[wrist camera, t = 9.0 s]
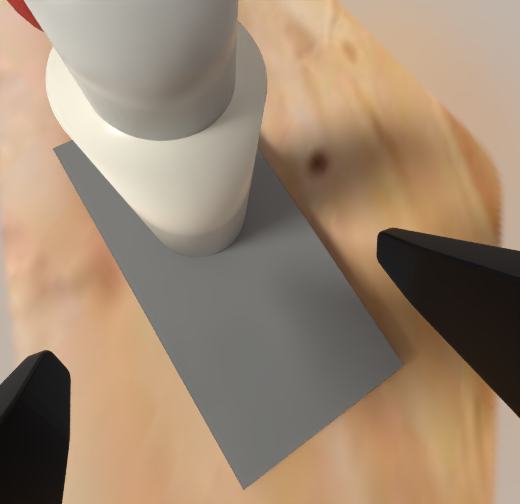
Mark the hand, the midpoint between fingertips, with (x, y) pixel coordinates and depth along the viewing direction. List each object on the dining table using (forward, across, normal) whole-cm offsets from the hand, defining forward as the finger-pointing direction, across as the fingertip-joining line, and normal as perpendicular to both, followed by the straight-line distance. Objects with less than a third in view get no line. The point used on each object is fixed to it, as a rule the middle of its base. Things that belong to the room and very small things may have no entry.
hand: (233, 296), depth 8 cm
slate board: (+8, -1, +4) cm, 9 cm away
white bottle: (+10, 0, +2) cm, 10 cm away
